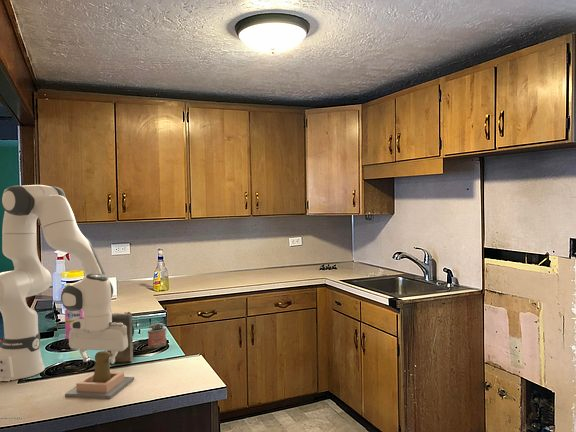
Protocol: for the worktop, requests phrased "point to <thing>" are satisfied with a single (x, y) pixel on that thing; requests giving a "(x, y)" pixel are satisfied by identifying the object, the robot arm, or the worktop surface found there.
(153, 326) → the lighter
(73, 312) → the gum box
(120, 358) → the vintage camera
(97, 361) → the olive peg figure
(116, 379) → the socket block
